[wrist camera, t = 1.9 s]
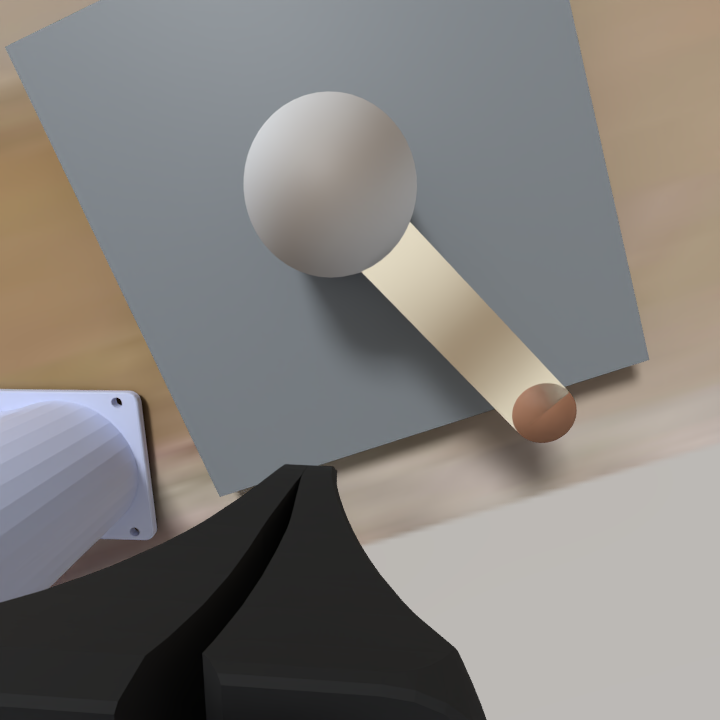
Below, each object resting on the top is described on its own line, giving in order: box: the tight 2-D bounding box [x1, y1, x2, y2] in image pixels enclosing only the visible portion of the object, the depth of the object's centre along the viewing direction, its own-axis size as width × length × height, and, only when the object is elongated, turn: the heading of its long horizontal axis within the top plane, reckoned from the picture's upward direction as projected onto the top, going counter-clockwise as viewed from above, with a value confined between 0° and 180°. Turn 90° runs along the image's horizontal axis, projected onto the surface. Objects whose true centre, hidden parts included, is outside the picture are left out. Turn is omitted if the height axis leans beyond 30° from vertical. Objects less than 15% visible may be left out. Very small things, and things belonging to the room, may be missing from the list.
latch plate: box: [5, 0, 649, 497], centre depth 17 cm, size 20×20×2 cm
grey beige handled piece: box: [244, 91, 577, 443], centre depth 14 cm, size 13×5×4 cm, turn 45°
